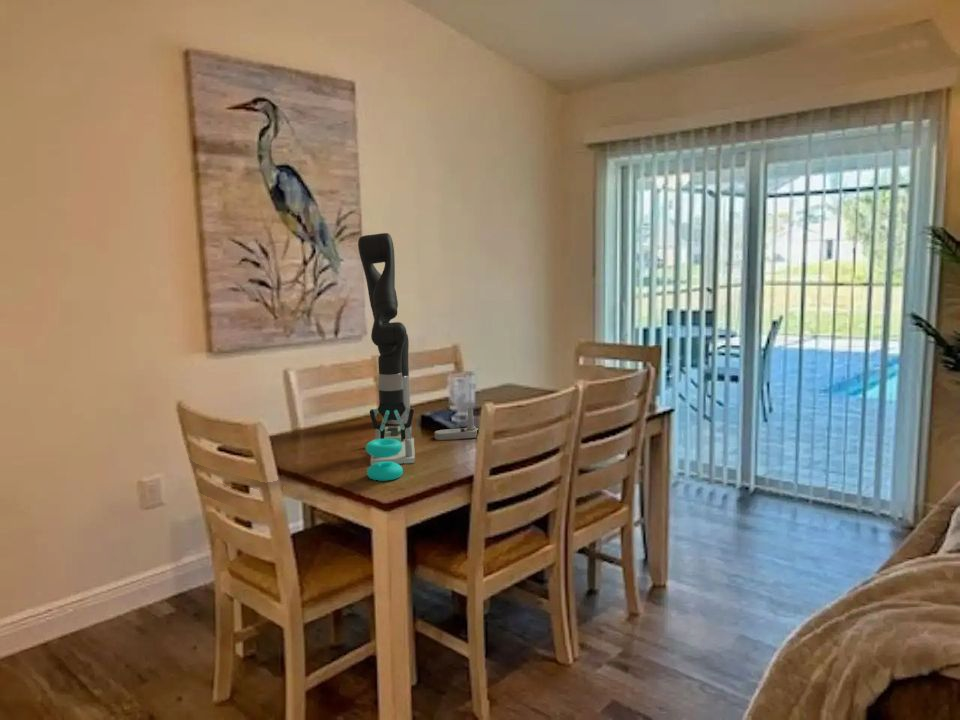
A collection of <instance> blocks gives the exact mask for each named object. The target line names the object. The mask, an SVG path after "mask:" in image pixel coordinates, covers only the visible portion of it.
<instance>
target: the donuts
mask: <svg viewBox="0 0 960 720" xmlns="http://www.w3.org/2000/svg"><path fill="white" fill-rule="evenodd" d="M401 449H402V444H401V442H400V441H398V440H395V439H377V440H375V439H373V440H370V441H369V442H368V443H366V446H365V451H366V453H367V454H369V456H371V455H372V456H375V457H390V456H393V455H396V454H398V453H399V452H400V451H401ZM403 469H404V468H403V467H402V465H400V464H397V463H395V462H378V463H375V464H373V465H371V464H370V466H368V468H367V470H366V474H367V477H368V479H370V480H372V479H373V481H376V480H378V482H388V480H389V481H393V480H397V479H398V478H400V477H401V476H402V475H403V473H404V470H403Z"/></svg>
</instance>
